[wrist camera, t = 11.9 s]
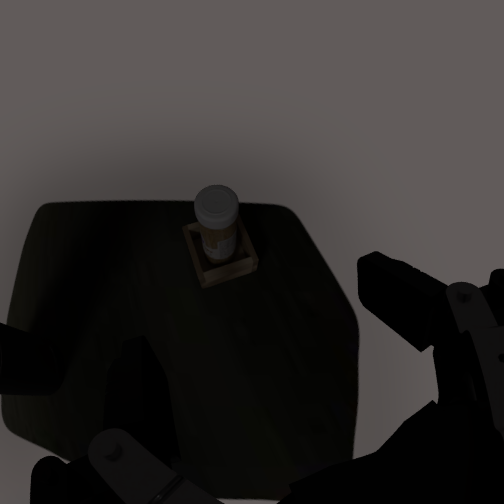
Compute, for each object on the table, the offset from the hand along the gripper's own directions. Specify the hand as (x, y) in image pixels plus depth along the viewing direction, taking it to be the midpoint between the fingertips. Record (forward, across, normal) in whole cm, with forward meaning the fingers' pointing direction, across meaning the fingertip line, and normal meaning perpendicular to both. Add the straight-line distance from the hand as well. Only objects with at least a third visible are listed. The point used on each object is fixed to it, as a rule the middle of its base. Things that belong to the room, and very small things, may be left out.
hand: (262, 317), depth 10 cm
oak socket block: (+30, -3, +10) cm, 32 cm away
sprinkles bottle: (+30, -3, +10) cm, 32 cm away
